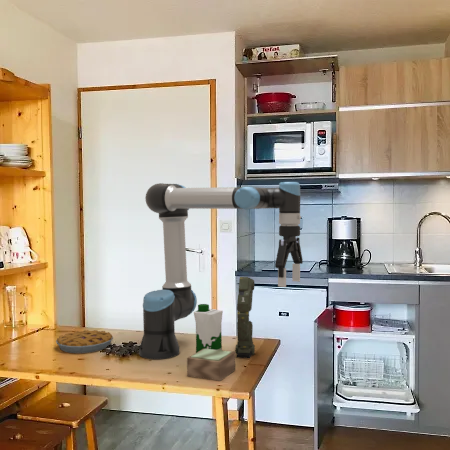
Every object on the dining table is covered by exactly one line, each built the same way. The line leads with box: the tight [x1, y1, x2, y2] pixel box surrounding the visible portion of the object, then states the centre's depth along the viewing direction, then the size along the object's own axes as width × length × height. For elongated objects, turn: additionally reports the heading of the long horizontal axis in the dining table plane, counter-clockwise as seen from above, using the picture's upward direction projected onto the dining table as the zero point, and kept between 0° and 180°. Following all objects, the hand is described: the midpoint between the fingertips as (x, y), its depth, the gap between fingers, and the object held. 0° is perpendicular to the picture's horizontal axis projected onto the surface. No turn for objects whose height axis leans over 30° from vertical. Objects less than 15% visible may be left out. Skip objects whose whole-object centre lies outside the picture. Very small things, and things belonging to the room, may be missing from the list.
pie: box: [55, 329, 114, 354], centre depth 205 cm, size 22×22×5 cm
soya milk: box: [193, 303, 224, 353], centre depth 185 cm, size 9×9×20 cm
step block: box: [186, 349, 236, 382], centre depth 172 cm, size 12×12×6 cm
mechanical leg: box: [234, 276, 256, 359], centre depth 194 cm, size 14×7×30 cm, turn 168°
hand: (289, 283), depth 185 cm, fingers open, 13 cm apart
